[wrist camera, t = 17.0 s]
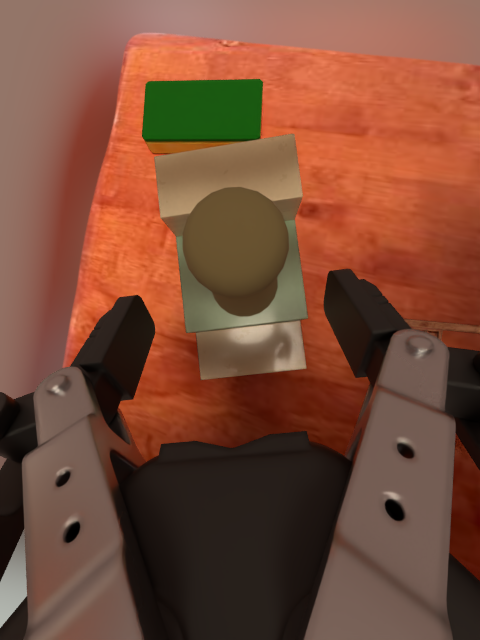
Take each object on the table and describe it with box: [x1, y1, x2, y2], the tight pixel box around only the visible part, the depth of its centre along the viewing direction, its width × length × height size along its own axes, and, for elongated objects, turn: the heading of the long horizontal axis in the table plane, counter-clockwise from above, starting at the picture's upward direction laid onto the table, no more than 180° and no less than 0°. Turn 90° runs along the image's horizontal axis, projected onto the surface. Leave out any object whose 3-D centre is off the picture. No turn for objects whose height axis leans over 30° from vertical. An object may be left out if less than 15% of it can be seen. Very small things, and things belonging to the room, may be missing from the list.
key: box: [404, 319, 480, 340], centre depth 25 cm, size 6×1×15 cm
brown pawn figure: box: [183, 187, 289, 317], centre depth 15 cm, size 6×6×11 cm
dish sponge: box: [142, 79, 263, 153], centre depth 28 cm, size 7×14×2 cm, turn 87°
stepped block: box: [154, 134, 308, 380], centre depth 22 cm, size 19×11×10 cm, turn 7°
